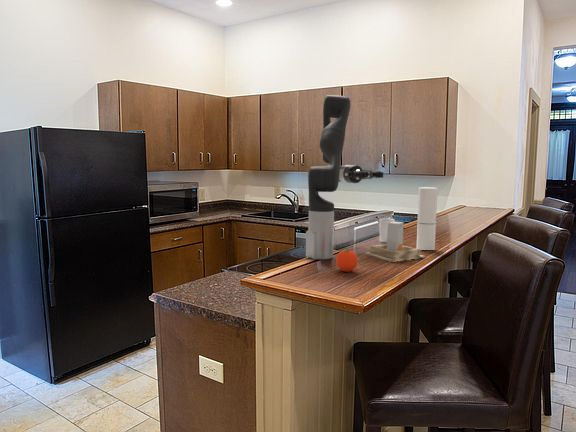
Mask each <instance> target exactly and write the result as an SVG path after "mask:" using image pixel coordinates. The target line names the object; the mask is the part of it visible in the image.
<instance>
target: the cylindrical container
mask: <svg viewBox="0 0 576 432" xmlns="http://www.w3.org/2000/svg"><path fill="white" fill-rule="evenodd" d="M438 191H439V189H438V187H424V186H423V187H418V202H417V223H416V225H417V226H416V229H417V231H416V247H415V248H416V249H420V251H422V250H434V251H435V249H436V231H437V230H436V229H437V226H436V225H437V212H438V211H437V209H438V208H437V207H438V206H437V205H438Z"/></svg>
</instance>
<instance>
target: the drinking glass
mask: <svg viewBox="0 0 576 432" xmlns="http://www.w3.org/2000/svg"><path fill="white" fill-rule="evenodd" d="M378 219H379V220H378V221H379V225H378V227H379V242H380V243H386V244H387V234H388V223H390V222H394V221H395V218H388V217H385V218H382V217H381V218H378Z"/></svg>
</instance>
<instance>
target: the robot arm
mask: <svg viewBox="0 0 576 432" xmlns="http://www.w3.org/2000/svg"><path fill="white" fill-rule="evenodd" d="M322 107H323V109H322V124H323V125H322V126H323V128H322V129H323V130H322V132H321V135H320V140H319V149H320V151H321V153H322V160H323V162H324V163H326V164H328V165H324V166H323V165H317V166H316V165H315V166H310V167H309V170H308V175H307V178H308V179H307V182H308V183H307V184H308V185H307V187H308V230H306V232H305V257H307V258H310V259H312V260H329V259H333V257H334V229H335V227H334V225H335V223H334V222H335V203H334V202H333V201H331V200H330V201H329V200H326V199H325V198H323V197H322V196H320V193H321V192H322V193H333V192H334V193H335V192H336V191H337V189H338V188H339V187H338V186H339V182H340V183H347V184H358V183H360V182H361V181H362V180H367V179H369V180H371V179H373V178H375V179H380V178H384V172H383V171H380V170H379V171H373V170H371V169H370V170H369V169H367V170H366V169H362V167H361V166H360V165H358V164H354V165H353V164H346V165H341V160H342V156H343V155H342V154H343V149H344V144H345V138H346V137H345V136H346V129H347V123H348V121H349V115H350V111H351V100H350V97H348V96H345V95H335V94H327V95H326V96H325V98H324V101H323V106H322ZM332 118H333V119H335V120H333V121H332V122H331V119H332Z"/></svg>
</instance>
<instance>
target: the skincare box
mask: <svg viewBox="0 0 576 432" xmlns="http://www.w3.org/2000/svg"><path fill="white" fill-rule="evenodd" d="M404 223H405V222H403V221H395V220H394V222H390V223H388V234H387V243H386V244H387V250H391V251H402V248H403V246H404Z"/></svg>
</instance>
